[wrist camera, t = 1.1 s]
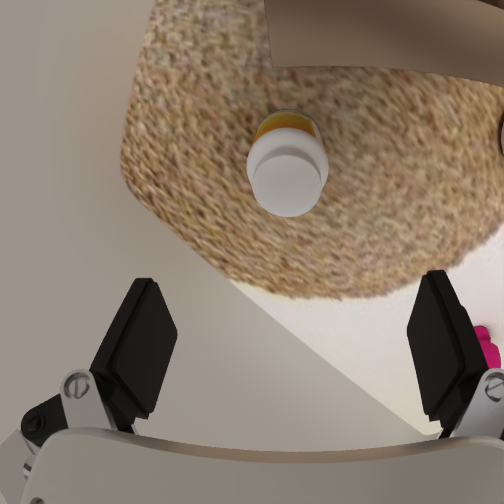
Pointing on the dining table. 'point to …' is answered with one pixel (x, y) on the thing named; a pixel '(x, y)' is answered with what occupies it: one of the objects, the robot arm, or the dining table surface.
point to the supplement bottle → (287, 164)
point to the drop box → (391, 35)
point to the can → (502, 138)
